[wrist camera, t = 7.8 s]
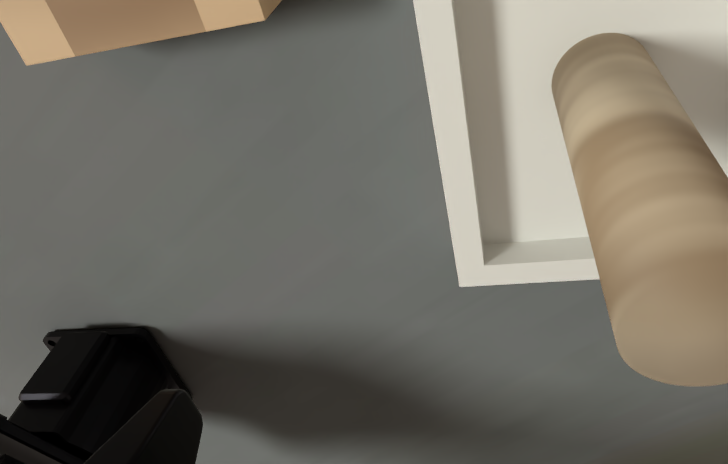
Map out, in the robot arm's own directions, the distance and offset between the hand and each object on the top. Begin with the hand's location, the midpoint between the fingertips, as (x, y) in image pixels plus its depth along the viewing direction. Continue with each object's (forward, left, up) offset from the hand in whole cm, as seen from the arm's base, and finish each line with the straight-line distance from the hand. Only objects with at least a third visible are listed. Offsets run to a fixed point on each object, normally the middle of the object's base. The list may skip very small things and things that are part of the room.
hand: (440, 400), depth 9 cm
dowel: (0, -4, -11) cm, 12 cm away
